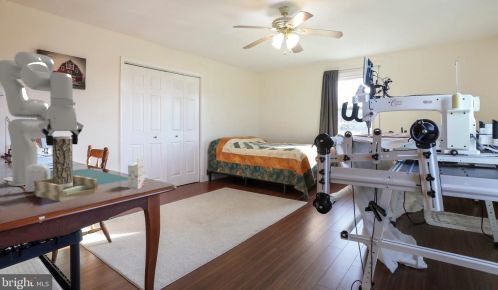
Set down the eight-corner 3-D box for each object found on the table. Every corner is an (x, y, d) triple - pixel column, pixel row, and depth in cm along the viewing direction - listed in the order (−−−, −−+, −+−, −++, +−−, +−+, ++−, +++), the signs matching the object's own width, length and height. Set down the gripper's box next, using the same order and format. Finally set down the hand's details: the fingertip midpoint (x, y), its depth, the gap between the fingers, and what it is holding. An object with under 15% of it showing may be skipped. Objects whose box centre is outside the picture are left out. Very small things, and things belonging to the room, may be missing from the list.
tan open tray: (34, 198, 106) (34, 181, 105) (73, 189, 120) (72, 174, 119) (60, 204, 99) (59, 186, 99) (97, 194, 114) (97, 179, 113)
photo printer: (52, 191, 116) (52, 164, 115) (43, 194, 111) (43, 165, 110) (33, 190, 117) (32, 162, 116) (23, 192, 113) (22, 164, 112)
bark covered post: (62, 198, 107) (61, 137, 105) (49, 196, 108) (47, 136, 106) (76, 194, 113) (76, 137, 111) (63, 192, 115) (62, 136, 113)
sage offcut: (60, 194, 103) (59, 190, 103) (79, 188, 113) (79, 185, 113) (66, 195, 103) (66, 191, 103) (85, 189, 113) (85, 185, 112)
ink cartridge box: (135, 185, 133) (135, 156, 132) (144, 185, 133) (145, 157, 132) (127, 189, 125) (127, 158, 124) (137, 189, 125) (137, 159, 124)
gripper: (76, 105, 117) (77, 143, 118) (32, 101, 101) (33, 145, 102) (88, 105, 114) (88, 144, 115) (44, 101, 98) (45, 146, 99)
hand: (62, 144), depth 109 cm, fingers open, 9 cm apart
